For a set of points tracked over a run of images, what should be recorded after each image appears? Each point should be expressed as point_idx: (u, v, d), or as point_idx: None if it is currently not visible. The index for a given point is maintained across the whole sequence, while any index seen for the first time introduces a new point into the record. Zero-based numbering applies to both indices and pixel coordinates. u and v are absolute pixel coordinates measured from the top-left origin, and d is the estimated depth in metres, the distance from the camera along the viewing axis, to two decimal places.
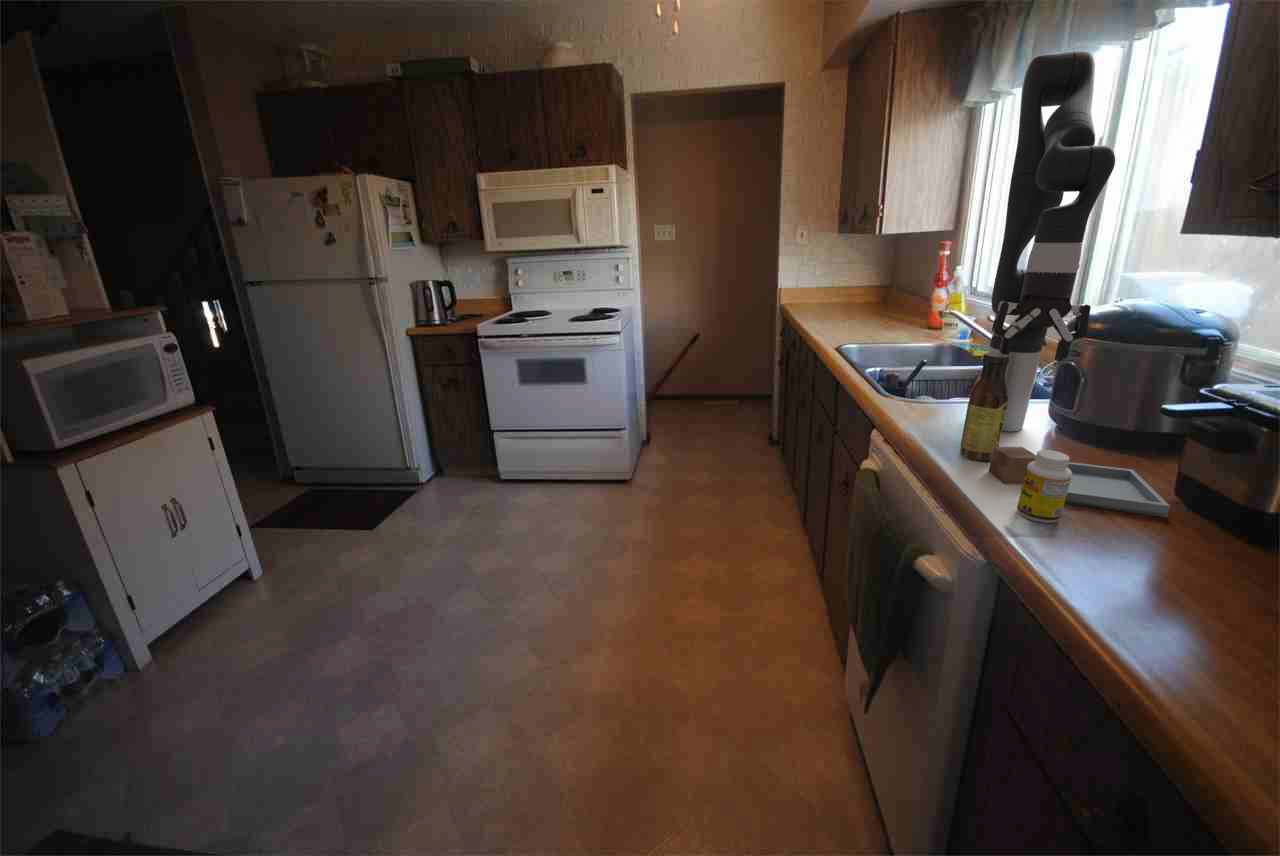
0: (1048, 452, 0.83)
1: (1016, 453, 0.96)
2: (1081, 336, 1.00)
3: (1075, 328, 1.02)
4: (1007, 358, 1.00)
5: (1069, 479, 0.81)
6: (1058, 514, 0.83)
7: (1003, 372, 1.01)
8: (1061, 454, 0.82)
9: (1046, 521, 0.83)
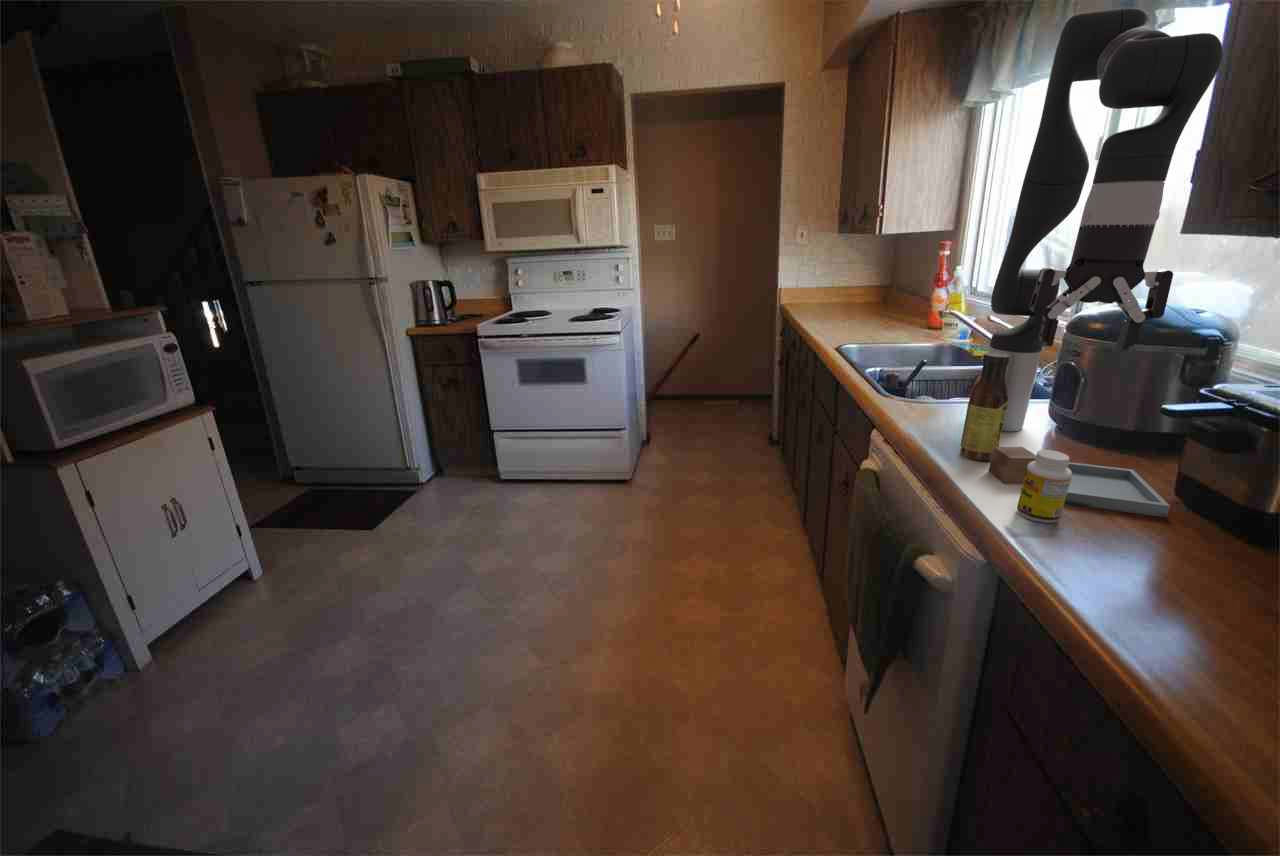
0: (1048, 452, 0.83)
1: (1016, 453, 0.96)
2: (1157, 315, 0.72)
3: (1147, 304, 0.73)
4: (1007, 358, 1.00)
5: (1069, 479, 0.81)
6: (1058, 514, 0.83)
7: (1003, 372, 1.01)
8: (1061, 454, 0.82)
9: (1046, 521, 0.83)
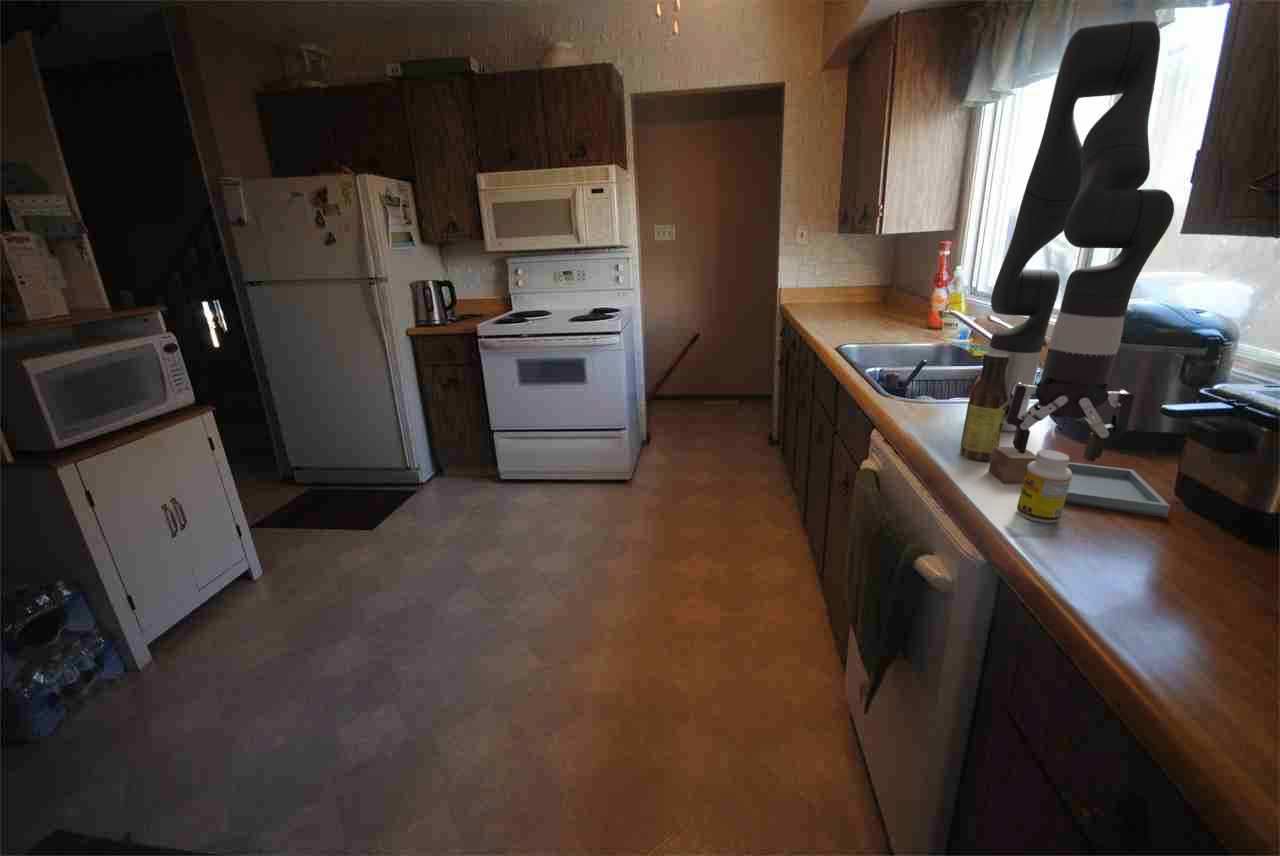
0: (1048, 452, 0.83)
1: (1016, 453, 0.96)
2: (1120, 432, 0.77)
3: (1112, 420, 0.79)
4: (1007, 358, 1.00)
5: (1069, 479, 0.81)
6: (1058, 514, 0.83)
7: (1003, 372, 1.01)
8: (1061, 454, 0.82)
9: (1046, 521, 0.83)
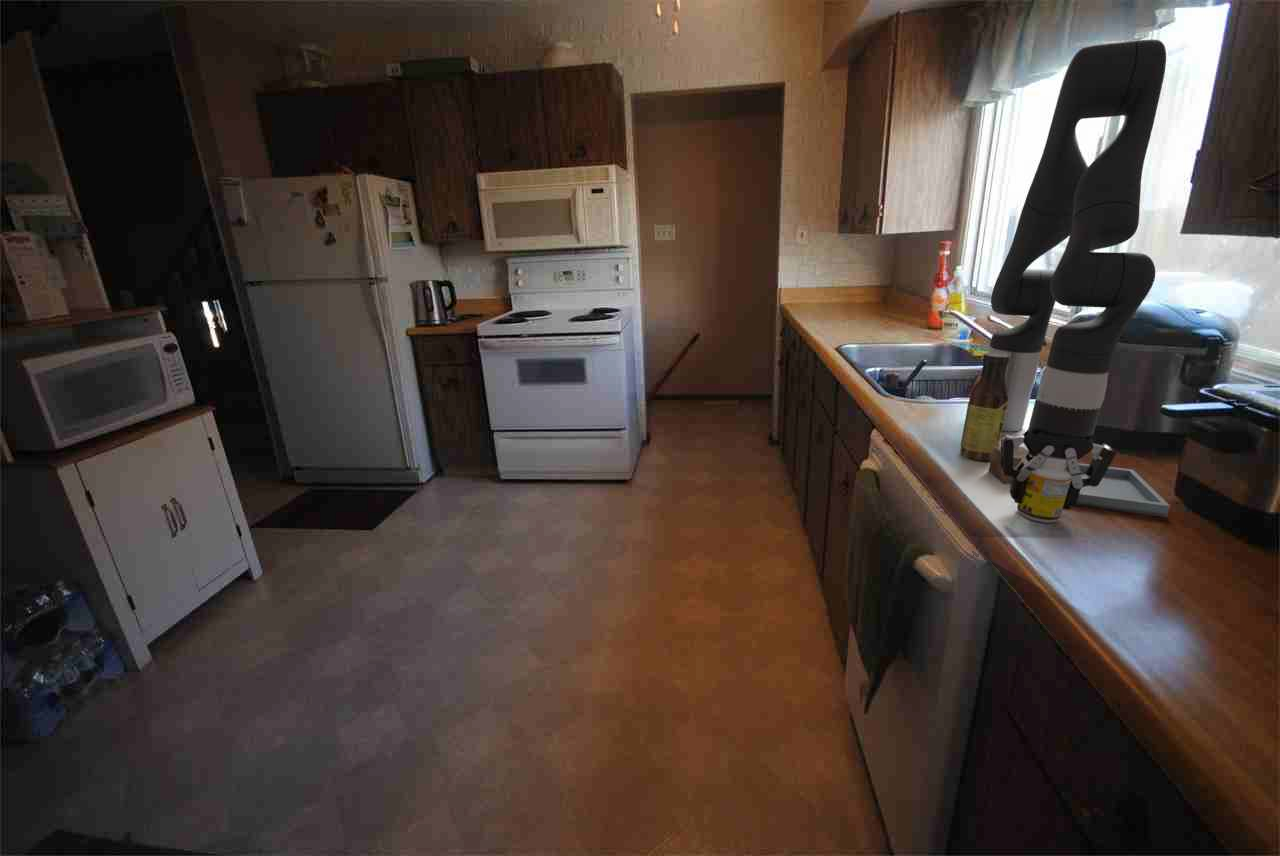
0: None
1: (1016, 453, 0.96)
2: (1093, 484, 0.81)
3: (1088, 470, 0.82)
4: (1007, 358, 1.00)
5: (1069, 479, 0.81)
6: (1058, 514, 0.83)
7: (1003, 372, 1.01)
8: None
9: (1046, 521, 0.83)
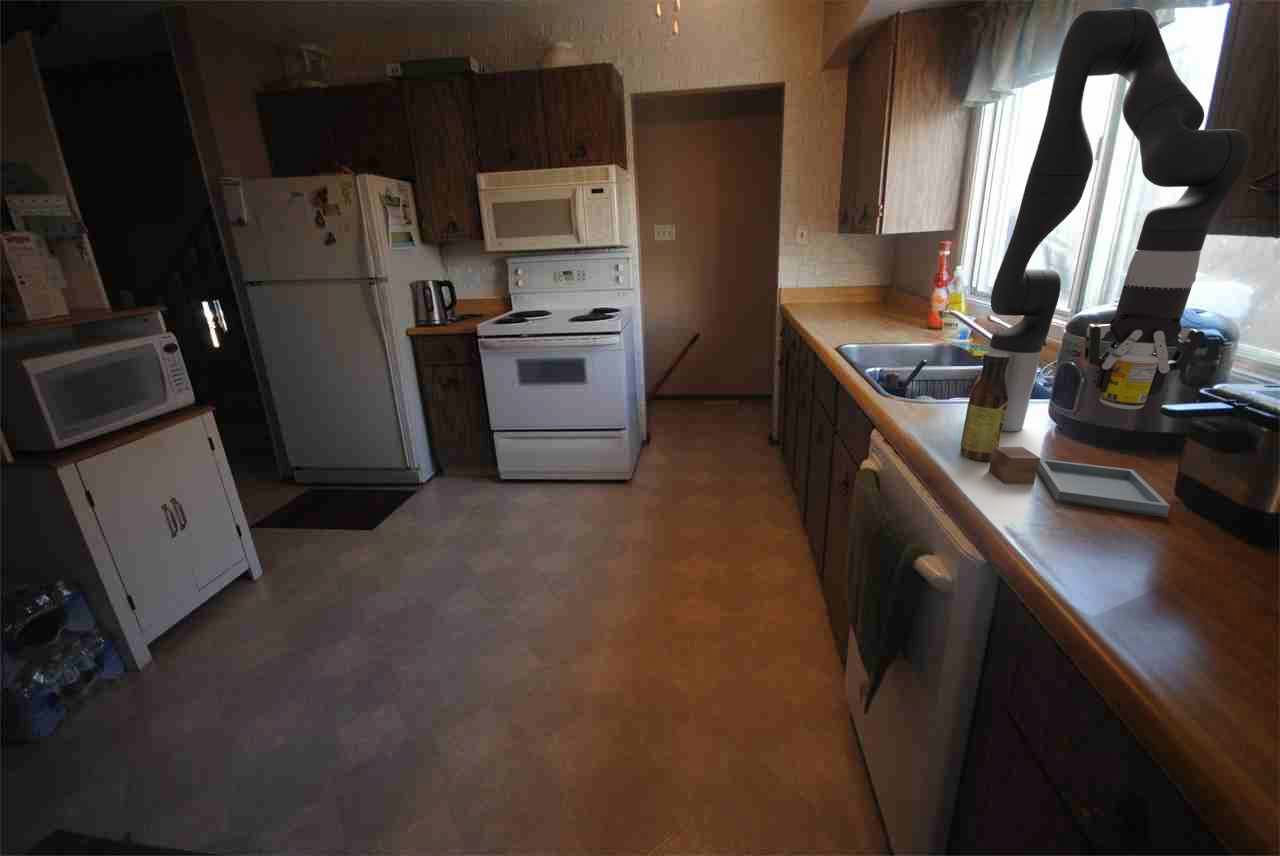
0: None
1: (1016, 453, 0.96)
2: (1180, 367, 0.83)
3: (1174, 356, 0.84)
4: (1007, 358, 1.00)
5: (1156, 363, 0.83)
6: (1144, 400, 0.85)
7: (1003, 372, 1.01)
8: None
9: (1132, 407, 0.86)
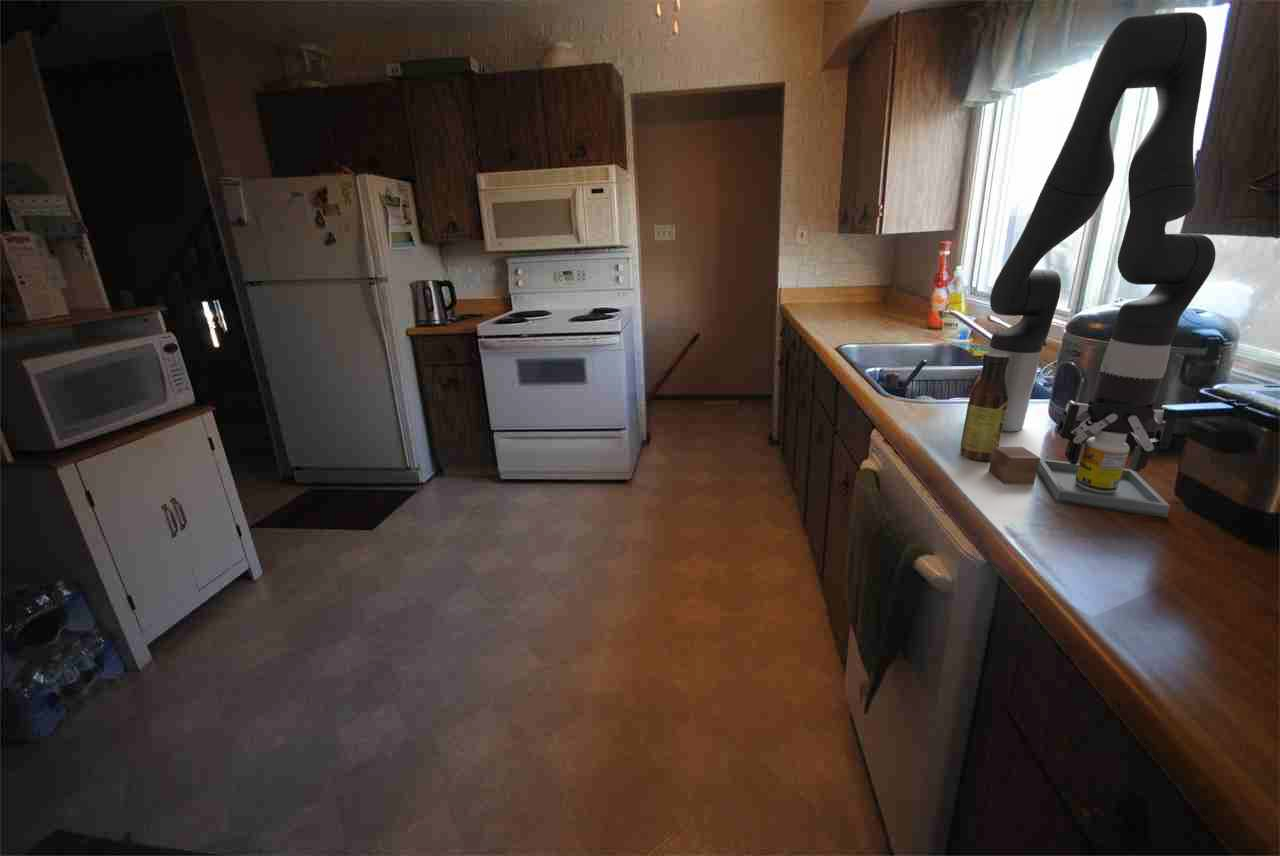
0: None
1: (1016, 453, 0.96)
2: (1164, 446, 0.87)
3: (1156, 435, 0.88)
4: (1007, 358, 1.00)
5: (1127, 452, 0.89)
6: (1116, 485, 0.90)
7: (1003, 372, 1.01)
8: None
9: (1105, 492, 0.91)
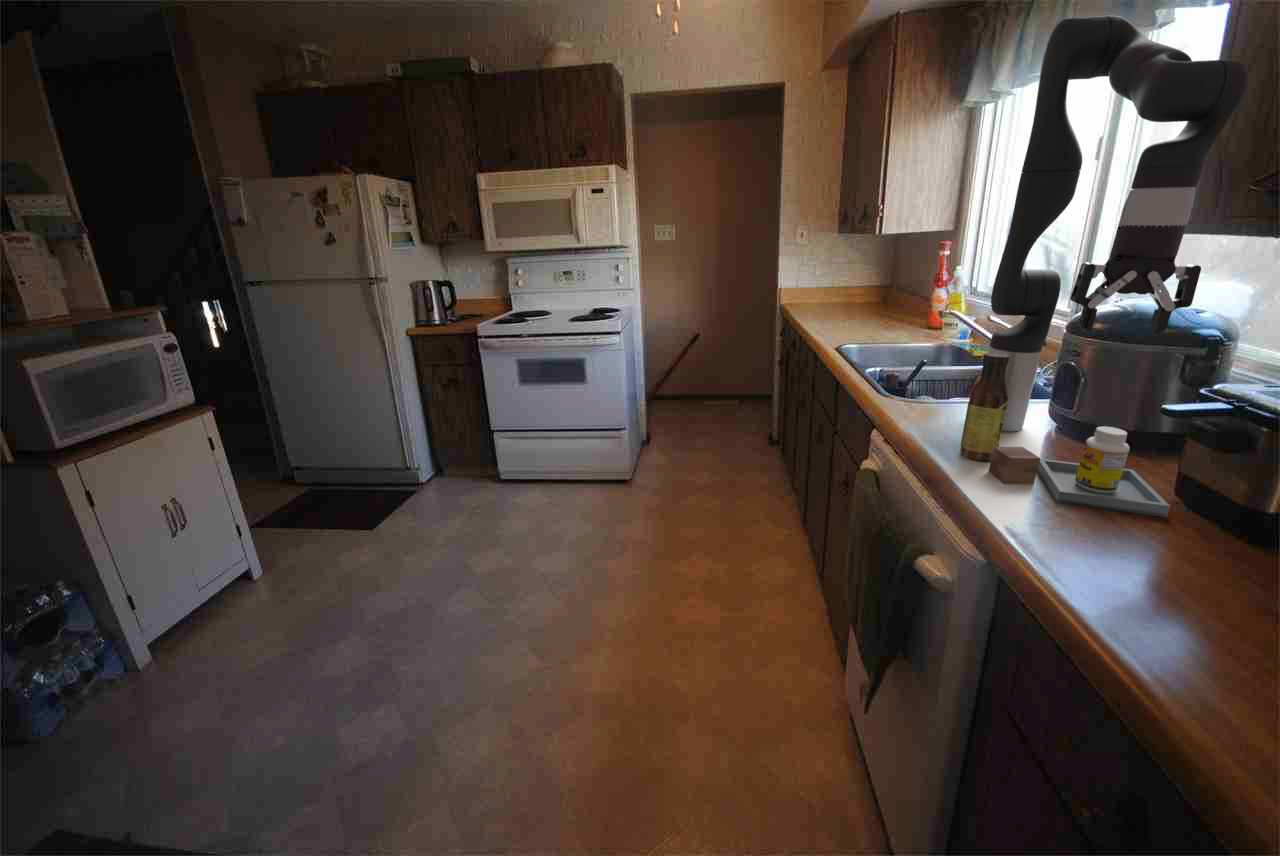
0: (1106, 428, 0.91)
1: (1016, 453, 0.96)
2: (1186, 304, 0.82)
3: (1177, 294, 0.83)
4: (1007, 358, 1.00)
5: (1127, 452, 0.89)
6: (1116, 485, 0.90)
7: (1003, 372, 1.01)
8: (1119, 430, 0.90)
9: (1105, 491, 0.91)
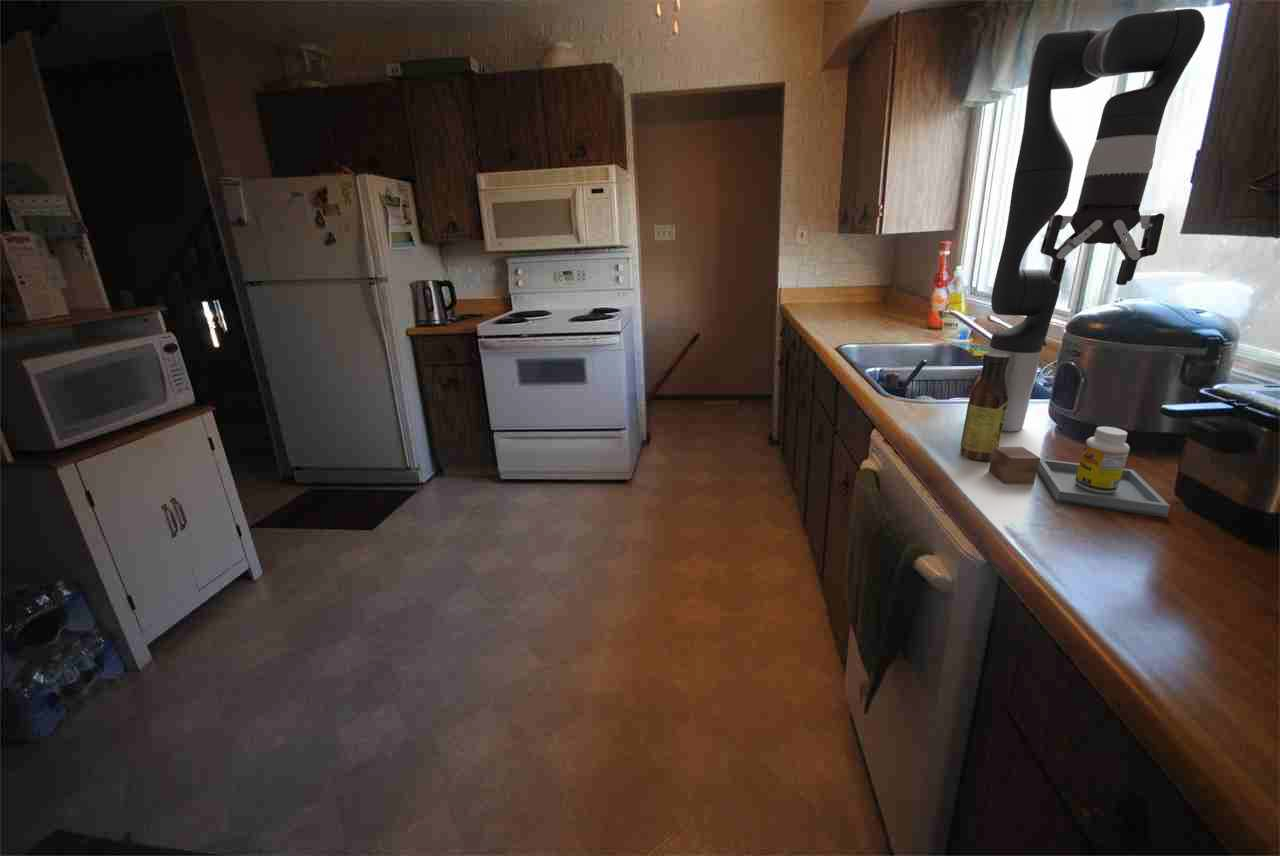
0: (1106, 428, 0.91)
1: (1016, 453, 0.96)
2: (1151, 253, 0.84)
3: (1143, 244, 0.85)
4: (1007, 358, 1.00)
5: (1127, 452, 0.89)
6: (1116, 485, 0.90)
7: (1003, 372, 1.01)
8: (1119, 430, 0.90)
9: (1105, 492, 0.91)
